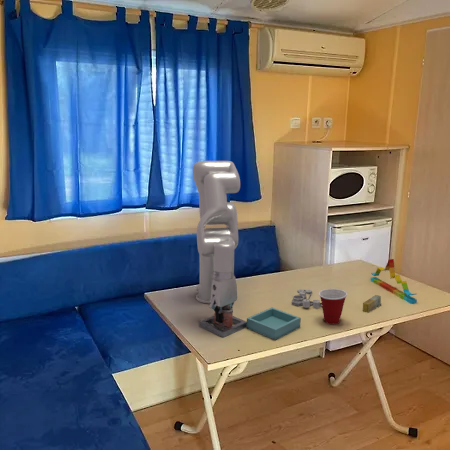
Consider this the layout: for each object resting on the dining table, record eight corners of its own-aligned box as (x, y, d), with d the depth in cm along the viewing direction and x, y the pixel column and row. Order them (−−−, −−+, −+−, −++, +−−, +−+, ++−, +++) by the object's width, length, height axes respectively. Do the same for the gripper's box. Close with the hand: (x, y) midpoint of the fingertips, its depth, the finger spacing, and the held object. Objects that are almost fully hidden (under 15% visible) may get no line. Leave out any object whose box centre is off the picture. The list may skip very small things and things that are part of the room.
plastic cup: (315, 315, 194) (316, 287, 191) (342, 315, 193) (343, 287, 191) (319, 326, 183) (321, 297, 180) (347, 327, 183) (350, 298, 180)
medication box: (374, 303, 207) (375, 294, 206) (380, 304, 206) (381, 296, 205) (362, 311, 198) (362, 302, 198) (368, 313, 197) (369, 304, 196)
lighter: (234, 327, 182) (234, 302, 180) (229, 330, 179) (230, 305, 177) (216, 322, 186) (217, 298, 184) (212, 325, 183) (212, 301, 181)
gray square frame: (199, 326, 183) (199, 321, 182) (223, 316, 192) (223, 311, 191) (223, 337, 174) (223, 332, 173) (247, 326, 183) (247, 321, 182)
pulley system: (309, 319, 192) (341, 312, 197) (308, 308, 191) (341, 301, 196) (278, 297, 217) (307, 292, 222) (277, 288, 216) (307, 282, 221)
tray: (246, 327, 182) (246, 318, 181) (271, 316, 192) (272, 307, 191) (275, 340, 172) (275, 329, 171) (300, 327, 182) (300, 317, 181)
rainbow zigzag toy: (416, 303, 208) (420, 270, 204) (410, 304, 207) (414, 271, 203) (376, 280, 236) (378, 251, 232) (370, 281, 235) (372, 251, 232)
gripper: (214, 282, 170) (214, 330, 174) (246, 271, 181) (245, 316, 185) (200, 277, 175) (200, 323, 179) (232, 267, 186) (231, 311, 190)
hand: (223, 319), depth 182 cm, fingers closed on lighter, 3 cm apart
